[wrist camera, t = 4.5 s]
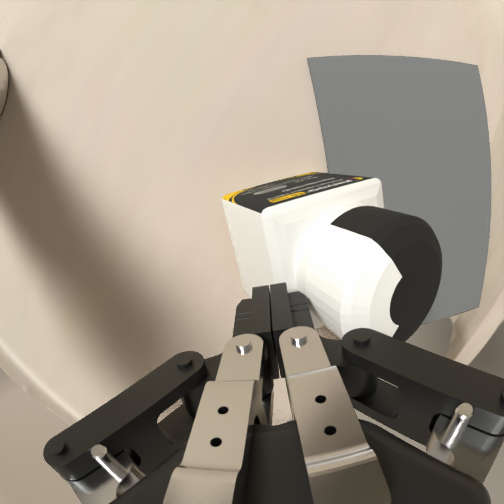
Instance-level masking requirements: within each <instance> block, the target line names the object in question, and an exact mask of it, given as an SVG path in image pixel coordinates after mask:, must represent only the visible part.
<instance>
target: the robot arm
mask: <svg viewBox="0 0 504 504" xmlns="http://www.w3.org/2000/svg"><path fill="white" fill-rule="evenodd" d="M7 90H8V70H7V66H6V64H5V62H4V60H3V59H2V58H1V57H0V115H1V113H2V110H3V107H4V104H5V100H6V95H7ZM278 363H279V366H278ZM279 369H280V375H281V378H284V377H285V380H286V386H287V393H288V398H289V403H290V408H291V413H292V418H293V420H292V421H289V422H286V423H283V424H280V425H276V426H272V414H273V399H274V393H273V386H274V383H273V379H277V378H279ZM378 377H379V378H381V379H383V380H385V381H388V382H390V383H392V384H394V385H396V386H398V388H397V387H395V386H393V385H391V384H389V383H387V382H384V381H382V380H380V379H378ZM180 398H181V400H182V402H183V404H182V405H181V406H180V407H178V408H177V409H176V410H175V411H173V412H172V413H171V414H169V415H168V416H167V417H166V418H164V419H163V420H162V421H160V422H159V423H158V424H157V419H158V417H159V415H160V414H161V413H162V412H164V411H165V410H166V409H167V408H169V407H170V406H171V405H173V404H174V403H175V402H177V401H178V400H179V399H180ZM354 408H355V409H356V410H358V411H360V412H362V413H363V414H365V415H367V416H369V417H371V418H372V419H374V420H376V421H378V422H380V423H382V424H384V425H385V426H387V427H389V428H391V429H393V430H395V431H397V432H399V433H401V434H403V435H404V436H406V437H409V438H410V439H412V440H414V441H416V442H418V443H421V444H422V445H425V446H426V452H427V453H425V452H423V451H421V450H420V449H418V448H416V447H414V446H412V445H410V444H409V443H407V442H405V441H403V440H401V439H400V438H398V437H396V436H395V435H393V434H391V433H389V432H388V431H386V430H384V429H383V428H381V427H379V426H377V425H375V424H373V423H370V422H368V421H365V420H360V419H358V418H357V415H356V413H355V410H354ZM503 442H504V379H503V378H500V377H497V376H495V375H492V374H489V373H486V372H483V371H481V370H478V369H475V368H472V367H470V366H467V365H464V364H462V363H459V362H456V361H453V360H451V359H448V358H445V357H442V356H440V355H437V354H435V353H432V352H429V351H427V350H424V349H422V348H419V347H416V346H414V345H411V344H409V343H406V342H403V341H401V340H398V339H396V338H393V337H391V336H388V335H385V334H383V333H380V332H378V331H375V330H373V329H369V328H357V329H353V330H350V331H348V332H347V333H346V334H345V335H344V336H343V337H342V340H331V339H326V338H323V337H321V336H320V335H318V333H317V331H316V330H315V329H314V325H313V321H312V317H311V314H310V310H309V306H308V303H307V299H306V296H305V295H304V294H302V293H301V292H300V291H297V292H290V293H288V291H287V285H286V282H284V283H277V284H271V285H270V289H269V285H265V286H258V287H252V298H251V299H244V300H242V301H241V302H240V303H239V304H238V305H237V308H236V315H235V323H234V331H233V338H232V339H230V340H229V341H228V342H227V343H226V345H225V347H224V351H223V353H221V354H219V355H217V356H214V357H211V358H208V359H204V358H203V356H202V355H201V354H200V353H198V352H194V351H187V352H182V353H179V354H177V355H175V356H174V357H172V358H171V359H169V360H168V361H166V362H165V363H164V364H162V365H161V366H159V367H158V368H157V369H155V370H154V371H152V372H151V373H149V374H148V375H146V376H145V377H144V378H142V379H141V380H139V381H138V382H136V383H135V384H133V385H132V386H130V387H129V388H128V389H126V390H125V391H123V392H122V393H120V394H119V395H117V396H116V397H114V398H113V399H111V400H110V401H108V402H107V403H105V404H104V405H102V406H101V407H99V408H98V409H96V410H95V411H93V412H92V413H90V414H89V415H87V416H86V417H84V418H83V419H81V420H79V421H78V422H76V423H75V424H73V425H72V426H70V427H69V428H67V429H65V430H64V431H62V432H61V433H59V434H58V435H56V436H54V437H53V438H51V439H50V440H49V441H48V442H47V444H46V445H45V448H44V452H43V453H44V459H45V461H46V462H47V463H48V464H49V465H50V466H51V467H52V468H53V469H54V470H55V471H56V472H58V473H59V474H60V476H61V477H62V478H63V479H64V480H66V482H68V483H69V484H70V485H71V487H72V488H73V490H74V492H75V494H76V495H77V497H78V498H79V500H80V501H81V503H82V504H491V500H490V496H489V493H488V491H487V489H486V488H485V487H484V485H483V482H484V481H485V479H486V477H487V475H488V473H489V471H490V469H491V467H492V465H493V463H494V461H495V459H496V457H497V455H498V452H499V450H500V448H501V446H502V443H503Z"/></svg>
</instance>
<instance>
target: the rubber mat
mask: <svg viewBox="0 0 504 504" xmlns="http://www.w3.org/2000/svg"><path fill="white" fill-rule="evenodd" d="M307 61H308V65H309V70H310V74H311V79H312V83H313V88H314V93H315V98H316V103H317V108H318V114H319V119H320V125H321V130H322V136H323V142H324V148H325V155H326V161H327V168H328V173H331V174H342V175H353V176H363V177H372V178H378V179H379V180H380V181H381V183H382V191H383V201H384V209H388V210H392V211H396V212H401V213H405V214H409V215H413V216H416V217H419V218H421V219H423V220H425V221H426V222H427V223H428V224H429V225H430V226H431V228H432V229H433V231H434V233H435V235H436V237H437V239H438V241H439V244H440V247H441V253H442V275H441V281H440V285H439V289H438V292H437V295H436V298H435V300H434V303H433V305H432V307H431V309H430V311H429V313H428V315H427V316H426V318H425V319H424V321H423V322H422V324H421V325H423V324H426V323H429V322H433V321H436V320H440V319H443V318H446V317H449V316H452V315H456V314H459V313H462V312H465V311H468V310H470V309H473V308H476V307H479V304H480V298H481V293H482V288H483V282H484V276H485V269H486V261H487V253H488V244H489V233H490V217H491V158H490V143H489V132H488V123H487V115H486V108H485V101H484V95H483V89H482V84H481V79H480V74H479V70H478V65H472V64H467V63H461V62H454V61H447V60H439V59H430V58H419V57H406V56H382V55H351V56H327V57H313V58H307Z"/></svg>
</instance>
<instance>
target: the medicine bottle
mask: <svg viewBox="0 0 504 504" xmlns="http://www.w3.org/2000/svg"><path fill="white" fill-rule="evenodd" d="M222 203H223V207H224V211H225V216H226V220H227V224H228V228H229V232H230V236H231V240H232V244H233V247H234V251H235V255H236V259H237V263H238V267H239V271H240V275H241V279H242V283H243V287H244V290H245V292H246V294H247V295H248V296H249V297H250V298H252V287H258V286H265V285H269V289H270V285H271V284H277V283H284V282H286V285H287V291H288V293H290V292H297V291H300V292H301V293H302V294H304V295H305V296H306V299H307V303H308V306H309V310H310V314H311V317H312V321H313V325H314V329H315V330H316V329H318V328H320V327H323V326H325V327H327V328H328V329H329V330H330V331H331V332H333V333H334V334H335V335H336V336H337V337H339V338H340V339H341V340H342V337H343V336H344V335H345V334H346V333H347V332H348V331H350V330H353V329H357V328H369V329H373V330H375V331H378V332H380V333H383V334H385V335H388V336H391V337H393V338H396V339H398V340H401V341H403V342H405V341H406V340H407V339H408V338H409V337H410V336H412V334H413V333H414V332H415V331H416V330H417V329H418V328H419V326H420V325H421V324H422V322H423V321H424V319H425V318H426V316H427V315H428V313H429V311H430V309H431V307H432V305H433V303H434V300H435V298H436V295H437V292H438V289H439V285H440V281H441V275H442V253H441V247H440V244H439V241H438V239H437V237H436V235H435V233H434V231H433V229H432V228H431V226H430V225H429V224H428V223H427V222H426V221H425V220H423V219H421V218H419V217H416V216H413V215H409V214H405V213H401V212H396V211H392V210H388V209H384V201H383V191H382V183H381V181H380V180H379V179H378V178H372V177H363V176H353V175H342V174H331V173H318V172H310V173H306V174H302V175H298V176H294V177H290V178H286V179H282V180H278V181H274V182H270V183H267V184H263V185H259V186H255V187H252V188H248V189H244V190H241V191H237V192H234V193H230V194H227V195H225V196H223V198H222Z"/></svg>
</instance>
